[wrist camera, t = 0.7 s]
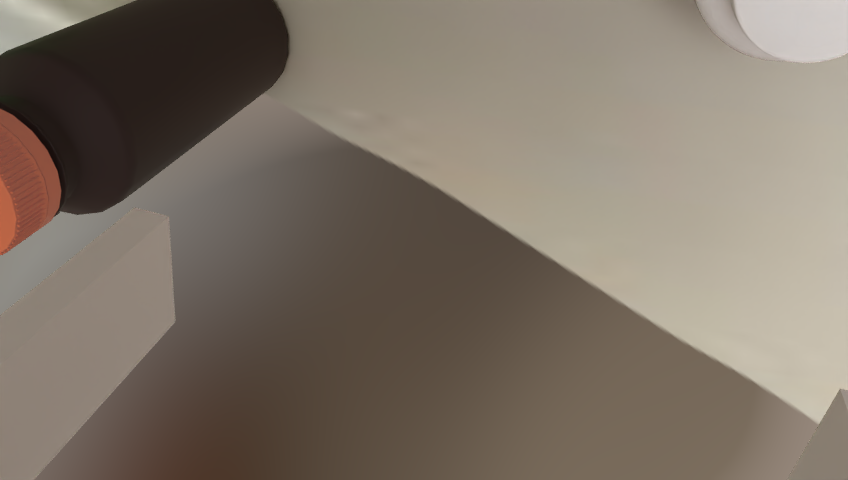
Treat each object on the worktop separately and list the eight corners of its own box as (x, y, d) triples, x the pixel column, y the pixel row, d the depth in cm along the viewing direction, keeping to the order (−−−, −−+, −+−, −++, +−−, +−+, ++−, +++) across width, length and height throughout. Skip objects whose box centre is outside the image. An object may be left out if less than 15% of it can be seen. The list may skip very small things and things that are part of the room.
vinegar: (261, 117, 43) (19, 316, 26) (160, 49, 42) (-152, 208, 26) (311, 20, 39) (67, 179, 23) (202, -57, 39) (-132, 50, 22)
